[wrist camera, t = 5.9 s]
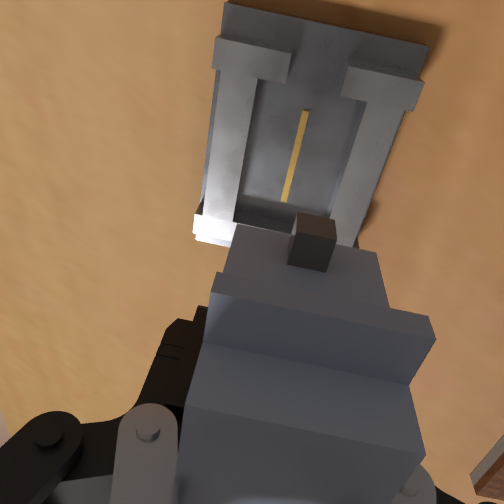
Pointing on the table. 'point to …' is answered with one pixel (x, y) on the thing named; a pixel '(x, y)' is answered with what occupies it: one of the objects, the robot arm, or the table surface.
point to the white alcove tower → (490, 473)
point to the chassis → (300, 122)
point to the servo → (301, 377)
